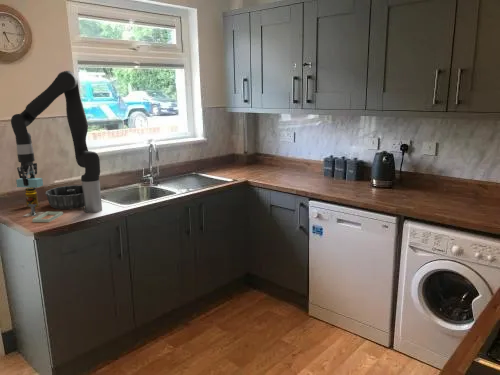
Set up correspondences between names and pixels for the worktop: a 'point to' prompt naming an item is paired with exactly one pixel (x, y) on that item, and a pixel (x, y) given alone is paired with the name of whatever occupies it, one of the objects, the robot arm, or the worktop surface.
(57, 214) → the tray
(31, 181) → the slotted block
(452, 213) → the worktop surface
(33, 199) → the condiment
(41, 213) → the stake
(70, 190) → the bundt pan
